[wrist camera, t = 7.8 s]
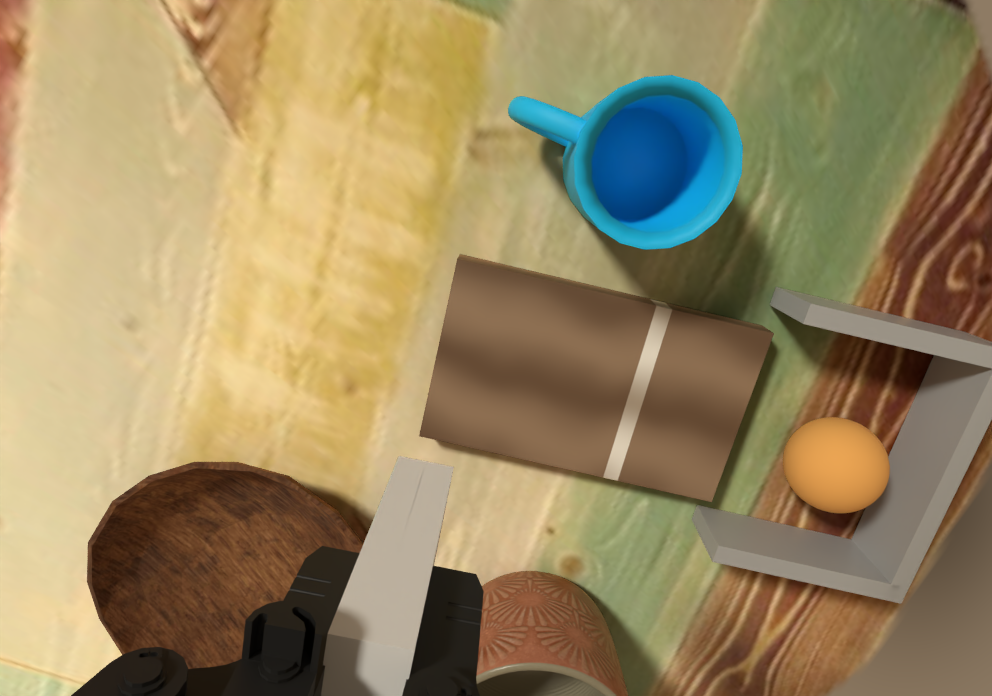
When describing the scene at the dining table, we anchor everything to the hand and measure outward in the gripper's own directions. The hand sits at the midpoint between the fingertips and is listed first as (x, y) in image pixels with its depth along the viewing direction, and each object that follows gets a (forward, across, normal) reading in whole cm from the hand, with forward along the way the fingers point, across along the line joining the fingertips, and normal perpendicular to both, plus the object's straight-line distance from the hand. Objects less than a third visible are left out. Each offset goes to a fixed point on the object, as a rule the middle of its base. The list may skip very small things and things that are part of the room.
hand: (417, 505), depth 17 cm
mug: (+26, +6, +10) cm, 28 cm away
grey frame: (+25, +24, -4) cm, 35 cm away
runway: (+25, +8, -4) cm, 27 cm away
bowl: (+25, -11, -23) cm, 36 cm away
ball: (+22, +24, -5) cm, 33 cm away
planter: (+25, +9, -24) cm, 36 cm away
